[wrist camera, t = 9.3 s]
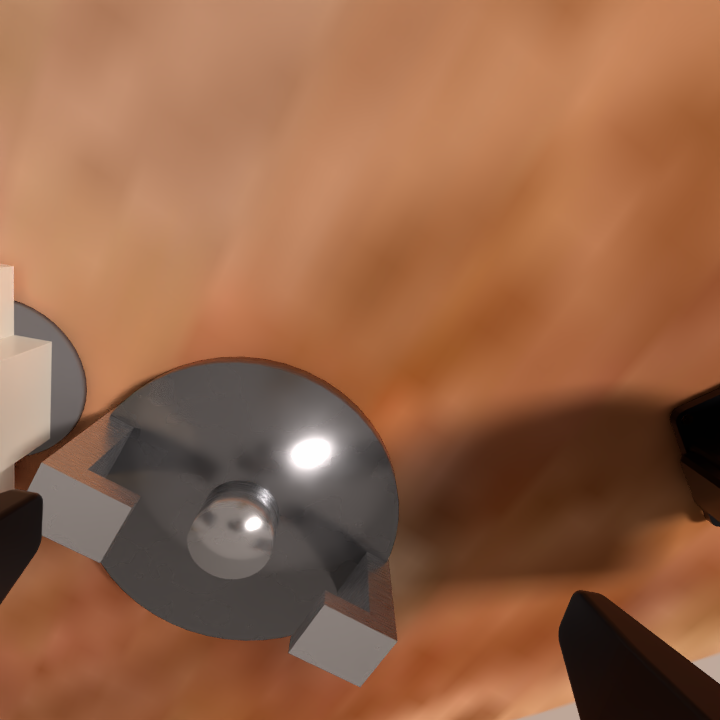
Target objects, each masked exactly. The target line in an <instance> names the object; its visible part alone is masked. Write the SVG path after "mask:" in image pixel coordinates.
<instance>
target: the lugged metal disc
mask: <svg viewBox="0 0 720 720" xmlns="http://www.w3.org/2000/svg"><path fill="white" fill-rule="evenodd" d="M27 491H30V492H35V493H39V494H40V495H41V496H42V498H43V521H42V536H44V537H46V538H48V539H50V540H52V541H55V542H57V543H59V544H61V545H63V546H65V547H67V548H69V549H71V550H73V551H76V552H78V553H80V554H82V555H84V556H86V557H88V558H90V559H92V560H94V561H97V562H99V563H100V562H101V564H102V565H103V566H104V568H105V569H106V571H107V572H108V573H109V575H110V576H111V578H112V579H113V580H114V581H115V582H116V583H117V584H118V585H119V586H120V587H121V589H122V590H123V591H124V592H126V593H127V594H128V595H129V596H130V597H131V598H132V599H134V600H135V601H136V602H137V603H138V604H140V605H141V606H143V607H144V608H146V609H147V610H148V611H150V612H151V613H153V614H154V615H156V616H158V617H160V618H162V619H164V620H166V621H168V622H169V623H171V624H174V625H176V626H179V627H181V628H184V629H186V630H189V631H192V632H196V633H199V634H203V635H206V636H211V637H217V638H222V639H231V640H244V641H247V640H267V639H275V638H282V637H286V636H290V635H292V636H291V639H290V645H289V652H288V653H289V654H292V655H294V656H296V657H298V658H300V659H302V660H304V661H306V662H308V663H310V664H312V665H315V666H317V667H319V668H321V669H323V670H325V671H327V672H329V673H331V674H333V675H336V676H338V677H340V678H342V679H344V680H346V681H348V682H350V683H352V684H354V685H357V686H359V687H361V685H362V684H363V683H364V682H365V681H366V679H367V678H368V677H369V676H370V674H371V673H372V672H373V671H374V670H375V668H376V667H377V666H378V665H379V663H380V662H381V661H382V660H383V659H384V657H385V656H386V655H387V654H388V652H389V651H390V650H391V649H392V647H393V646H394V645H395V644H396V643H397V633H396V624H395V615H394V606H393V597H392V588H391V578H390V569H389V560H388V558H389V556H390V554H391V551H392V547H393V544H394V541H395V538H396V532H397V526H398V515H399V501H398V494H397V488H396V481H395V475H394V470H393V467H392V464H391V461H390V457H389V454H388V452H387V450H386V448H385V445H384V443H383V441H382V439H381V437H380V435H379V434H378V432H377V431H376V429H375V428H374V426H373V425H372V423H371V422H370V420H369V419H368V418H367V417H366V416H365V415H364V413H363V412H362V411H361V410H360V409H359V408H358V406H357V405H355V404H354V403H353V402H352V401H351V400H350V399H349V398H348V397H346V396H345V395H344V394H343V393H342V392H340V391H339V390H338V389H336V388H335V387H333V386H332V385H330V384H329V383H327V382H326V381H324V380H322V379H320V378H318V377H316V376H314V375H312V374H310V373H308V372H307V371H304V370H301V369H298V368H296V367H293V366H290V365H287V364H284V363H280V362H275V361H271V360H267V359H260V358H250V357H220V358H214V359H207V360H201V361H197V362H193V363H190V364H187V365H183V366H180V367H177V368H175V369H173V370H171V371H168V372H166V373H164V374H162V375H160V376H158V377H157V378H155V379H153V380H152V381H150V382H149V383H147V384H145V385H144V386H143V387H141V388H140V389H138V390H137V391H136V392H134V393H133V394H132V395H131V396H130V397H128V398H127V399H126V400H125V401H124V402H122V403H121V404H120V405H118V406H116V407H115V408H114V409H112V410H111V411H110V412H108V413H107V414H106V415H104V416H103V417H102V418H100V419H99V420H98V421H96V422H95V423H94V424H92V425H91V426H90V427H88V428H87V429H86V430H84V431H83V432H82V433H80V434H79V435H78V436H76V437H75V438H74V439H72V440H71V441H70V442H68V443H67V444H66V445H64V446H63V447H62V448H60V449H59V450H58V451H56V452H55V453H54V454H52V455H51V456H50V457H48V458H47V459H46V460H44V461H43V462H42V463H41V465H40V467H39V469H38V471H37V473H36V475H35V476H34V478H33V480H32V482H31V484H30V486H29V488H28V490H27Z"/></svg>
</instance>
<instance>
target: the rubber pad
mask: <svg viewBox="0 0 720 720" xmlns="http://www.w3.org/2000/svg"><path fill="white" fill-rule="evenodd" d="M14 335H17V336H23V337H28V338H34V339H39V340H45V341H51V342H52V360H51V413H50V439H49V440H47V441H46V442H44V443H43V444H42V445H40V446H39V447H37V448H36V449H34V450H33V451H31V452H30V453H29V454H27V455H32V454H35V453H39V452H41V451H44V450H46V449H48V448H50V447H51V446H53V445H55V444H56V443H58V442H59V441H60V440H62V439H63V438H64V437H65V436H67V435H68V434H69V433H70V432H71V431H72V429H73V428H74V427H75V426H76V424H77V423H78V421H79V419H80V417H81V415H82V412H83V410H84V406H85V402H86V393H87V387H86V377H85V372H84V369H83V366H82V363H81V360H80V358H79V356H78V354H77V351H76V350H75V348H74V346H73V345H72V343H71V342H70V340H69V339H68V338H67V337H66V335H65V334H64V333H63V332H62V331H61V330H60V329H59V328H58V327H57V326H56V325H55V324H54V323H53V322H52V321H51V320H49V319H48V318H47V317H46V316H44V315H43V314H41V313H40V312H38V311H36V310H35V309H33V308H31V307H29V306H27V305H25V304H22V303H20V302H17V301H14ZM27 455H26V456H27Z"/></svg>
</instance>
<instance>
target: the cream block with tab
mask: <svg viewBox="0 0 720 720" xmlns="http://www.w3.org/2000/svg"><path fill="white" fill-rule="evenodd" d="M51 360H52V342H51V341H45V340H39V339H34V338H28V337H23V336H17V335H14V266H10V265H5V264H0V493H2V492H5V491H8V490H12V489H15V474H14V463H15V462H17V461H18V460H20V459H21V458H23V457H24V456H26V455H27V454H29V453H30V452H31V451H33V450H34V449H36V448H37V447H39V446H40V445H42V444H43V443H44V442H46V441H47V440H49V439H50V413H51Z"/></svg>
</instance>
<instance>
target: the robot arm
mask: <svg viewBox="0 0 720 720" xmlns="http://www.w3.org/2000/svg"><path fill="white" fill-rule="evenodd" d="M685 415H687V418H686V419H685V420H684V421H682V418H683V417H684V416H685ZM670 422H671V424H672V427H673V430H674V433H675V436H676V438H677V441H678V444H679V447H680V449H681V452H682V455H681V459H680V463H681V466H682V468H683V471H684V474H685V477H686V479H687V482H688V485H689V488H690V490H691V493H692V496H693V499H694V501H695V503H696V504H697V505H699V506H700V507H701V508H702V510H703V513H704V516H705V518H706V519H707V520H708V521H709V522H711V523H712V524H713V525H715V526H719V527H720V388H719V389H717V390H715V391H712V392H710V393H708V394H706V395H704V396H701V397H699V398H697V399H695V400H693V401H690V402H688V403H686V404H684V405H681V406H679V407H677V408H676V409H674V410H673V412H672V413H671V416H670ZM42 521H43V498H42V496H41V495H40V494H39V493H35V492H30V491H24V490H18V489H12V490H8V491H5V492H2V493H0V604H1V603H2V601H3V600H4V598H5V597H6V596H7V594H8V593H9V591H10V590H11V588H12V587H13V585H14V584H15V582H16V581H17V580H18V578H19V577H20V575H21V574H22V572H23V571H24V569H25V568H26V567H27V565H28V564H29V562H30V561H31V559H32V558H33V556H34V555H35V553H36V552H37V550H38V548H39V545H40V542H41V538H42ZM559 643H560V647H561V651H562V654H563V658H564V662H565V665H566V669H567V673H568V676H569V680H570V684H571V687H572V691H573V695H574V698H575V702H576V706H577V709H578V713H579V716H580V720H720V684H719V683H718V682H716V681H715V680H714V679H712V678H711V677H710V676H708V675H707V674H706V673H704V672H703V671H702V670H701V669H699V668H698V667H697V666H695V665H694V664H693V663H691V662H690V661H689V660H688V659H686V658H685V657H684V656H682V655H681V654H680V653H678V652H677V651H676V650H674V649H673V648H672V647H670V646H669V645H668V644H667V643H665V642H664V641H663V640H661V639H660V638H659V637H657V636H656V635H655V634H653V633H652V632H651V631H649V630H648V629H647V628H646V627H644V626H643V625H642V624H640V623H639V622H638V621H636V620H635V619H634V618H632V617H631V616H630V615H628V614H627V613H626V612H625V611H623V610H622V609H621V608H619V607H618V606H617V605H615V604H614V603H613V602H611V601H610V600H609V599H608V598H606V597H605V596H603V595H602V594H599V593H595V592H589V591H583V590H579V591H576V592H575V593H574V594H573V595H572V597H571V600H570V602H569V605H568V607H567V609H566V612H565V614H564V616H563V619H562V621H561V624H560V627H559Z"/></svg>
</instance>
